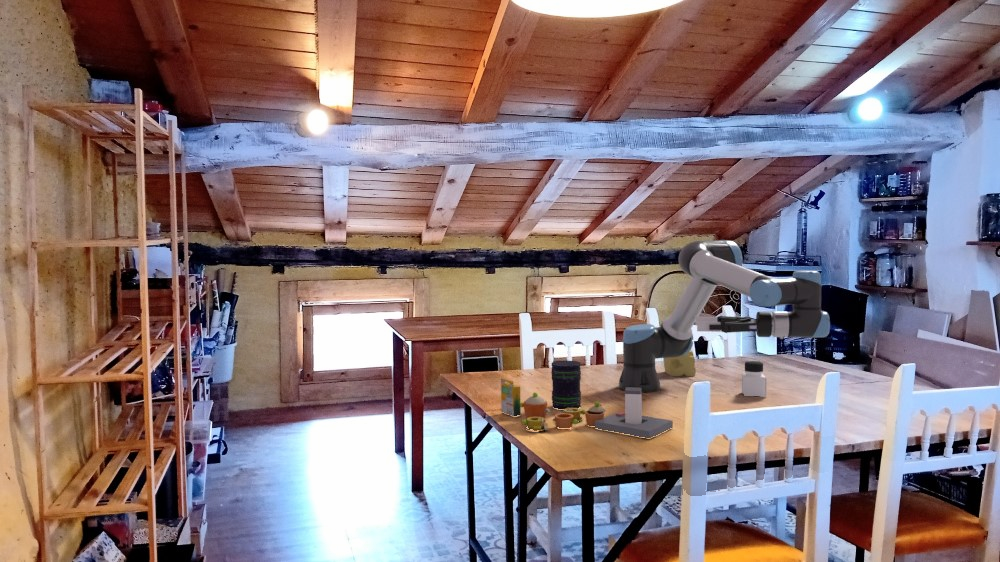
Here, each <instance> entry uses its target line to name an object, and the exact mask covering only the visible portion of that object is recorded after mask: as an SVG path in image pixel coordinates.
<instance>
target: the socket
mask: <svg viewBox="0 0 1000 562" xmlns="http://www.w3.org/2000/svg"><path fill="white" fill-rule="evenodd" d="M673 421H674V420H671V419H666V418H659V417H655V416H654V417H653V416H647V415H642V423H641V424H639V425H634V424H629V423H625V411H617V412H615V413H612V414H610V415H607V416H604V418H603V419H599V420H596V421H594V423H595V428H598V429H602V430H608V431H614V432H619V433H624V434H630V435H634V436H639V437H645V438H651V437H653V436H656V435H658V434H660V433H662V432H664V431H666V430H668V429H670V428H673V425H674V424H673V423H674V422H673ZM595 428H594V429H595ZM673 429H674V428H673Z"/></svg>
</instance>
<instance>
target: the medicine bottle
mask: <svg viewBox="0 0 1000 562" xmlns="http://www.w3.org/2000/svg"><path fill="white" fill-rule="evenodd" d="M741 393H742V395H743V394H744V395H743V396H744V397H745V396H763V397H762V398H767V377H766V376H765V375H764V363H763V362H762V361H759V360H747V361H745V362H744V372H743V373H741ZM764 396H765V397H764Z"/></svg>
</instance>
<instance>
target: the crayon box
mask: <svg viewBox="0 0 1000 562" xmlns="http://www.w3.org/2000/svg"><path fill="white" fill-rule="evenodd" d="M505 382H506V383H505ZM500 386H501V389H500V390H501V392H500V395H501V398H500V399H501V400H500V401H501V403H500V404H501V405H500V406H501V408H500V409H501V412H504V413H506V414H509V415H512V416H517V415H521V407H520V403H521V386H520V385H515V384H514V381H512V380H508V379H506V378H505V379H504V378H503V377H502V378H500Z"/></svg>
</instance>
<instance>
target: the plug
mask: <svg viewBox="0 0 1000 562" xmlns="http://www.w3.org/2000/svg"><path fill="white" fill-rule="evenodd" d="M624 402H625V403H624V404H625V405H624V412H625V423H629V424H634V425H639V424H641V423H642V413H643V412H642V411H643V410H642V409H643V407H642V404H643V403H642V392H641V388H636V387H626V389H625V390H624Z"/></svg>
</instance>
